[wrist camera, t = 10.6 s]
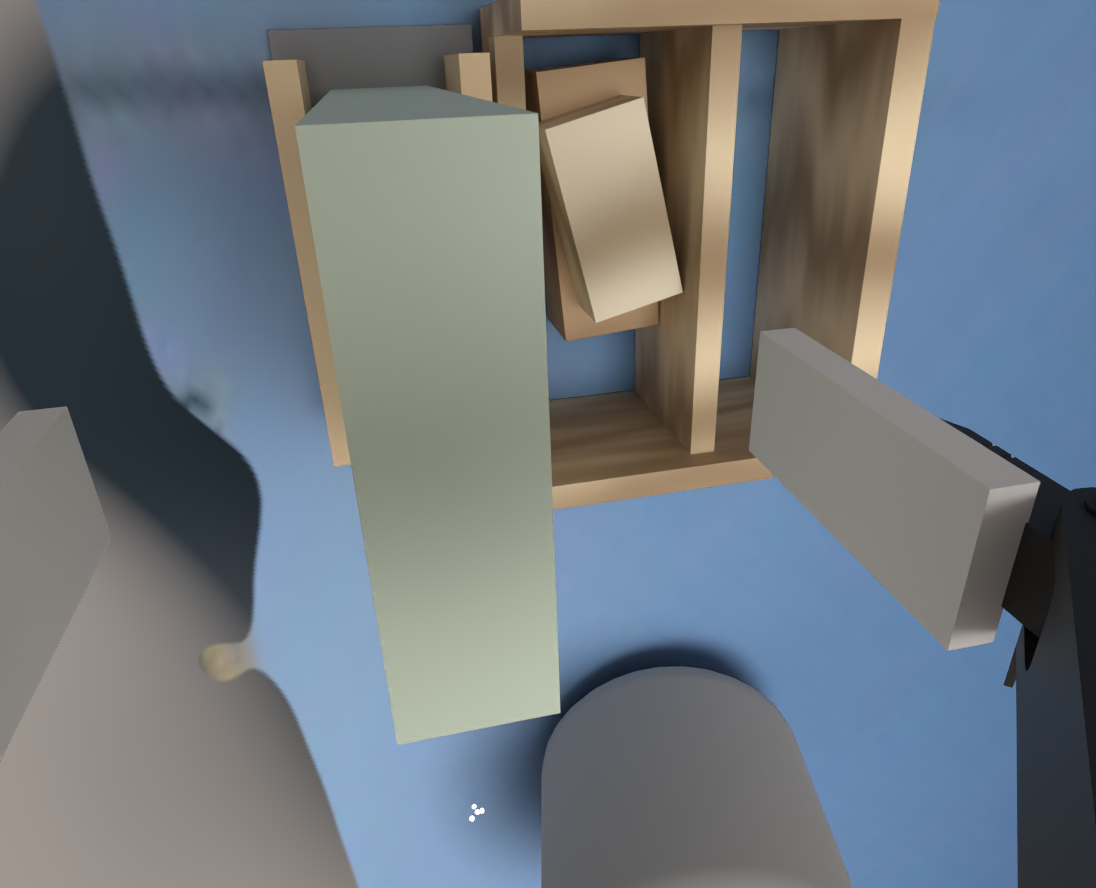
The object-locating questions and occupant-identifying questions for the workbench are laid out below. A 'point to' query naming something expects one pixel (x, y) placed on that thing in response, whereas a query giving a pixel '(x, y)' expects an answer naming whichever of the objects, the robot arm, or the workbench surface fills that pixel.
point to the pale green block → (442, 391)
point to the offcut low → (548, 98)
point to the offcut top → (609, 206)
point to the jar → (681, 790)
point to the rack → (704, 213)
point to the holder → (349, 63)
